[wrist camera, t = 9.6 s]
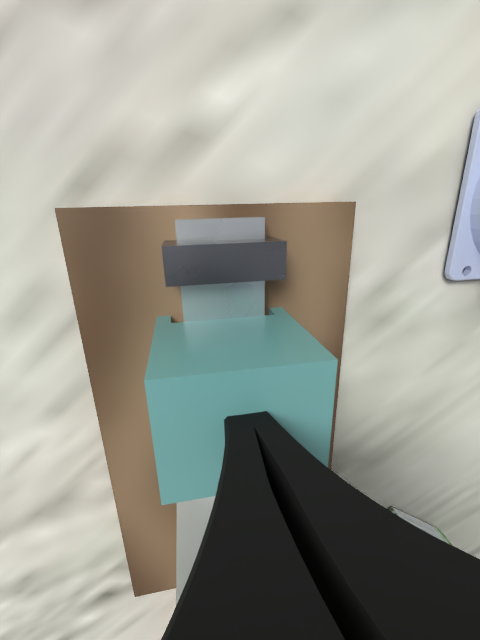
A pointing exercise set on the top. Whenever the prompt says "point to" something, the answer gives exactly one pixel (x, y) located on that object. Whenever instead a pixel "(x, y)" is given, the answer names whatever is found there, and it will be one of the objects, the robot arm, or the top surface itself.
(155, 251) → the mounting board
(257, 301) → the steel rail
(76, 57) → the top surface
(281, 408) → the teal module
